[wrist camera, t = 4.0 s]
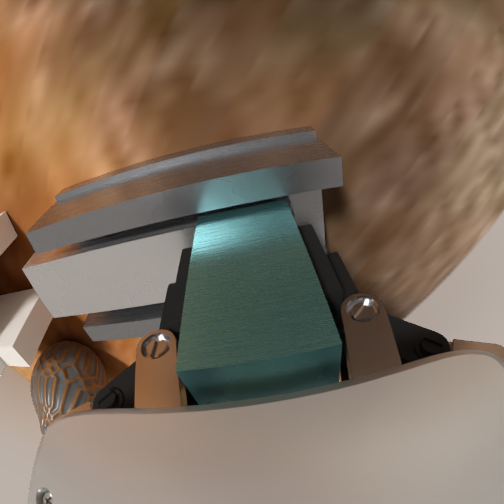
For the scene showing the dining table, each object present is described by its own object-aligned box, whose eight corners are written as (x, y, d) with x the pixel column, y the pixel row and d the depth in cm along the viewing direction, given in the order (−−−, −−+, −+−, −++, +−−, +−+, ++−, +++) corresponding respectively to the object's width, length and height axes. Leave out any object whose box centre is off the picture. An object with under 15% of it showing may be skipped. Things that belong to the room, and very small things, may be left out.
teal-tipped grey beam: (280, 173, 14) (353, 340, 6) (290, 249, 16) (341, 420, 8) (42, 233, 15) (-47, 365, 6) (73, 290, 17) (18, 424, 9)
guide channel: (310, 126, 14) (340, 149, 10) (321, 256, 18) (343, 306, 15) (62, 189, 14) (23, 228, 11) (114, 294, 19) (95, 344, 15)
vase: (34, 328, 21) (0, 409, 13) (94, 328, 21) (63, 425, 14) (69, 374, 25) (48, 447, 17) (125, 377, 25) (111, 460, 17)
